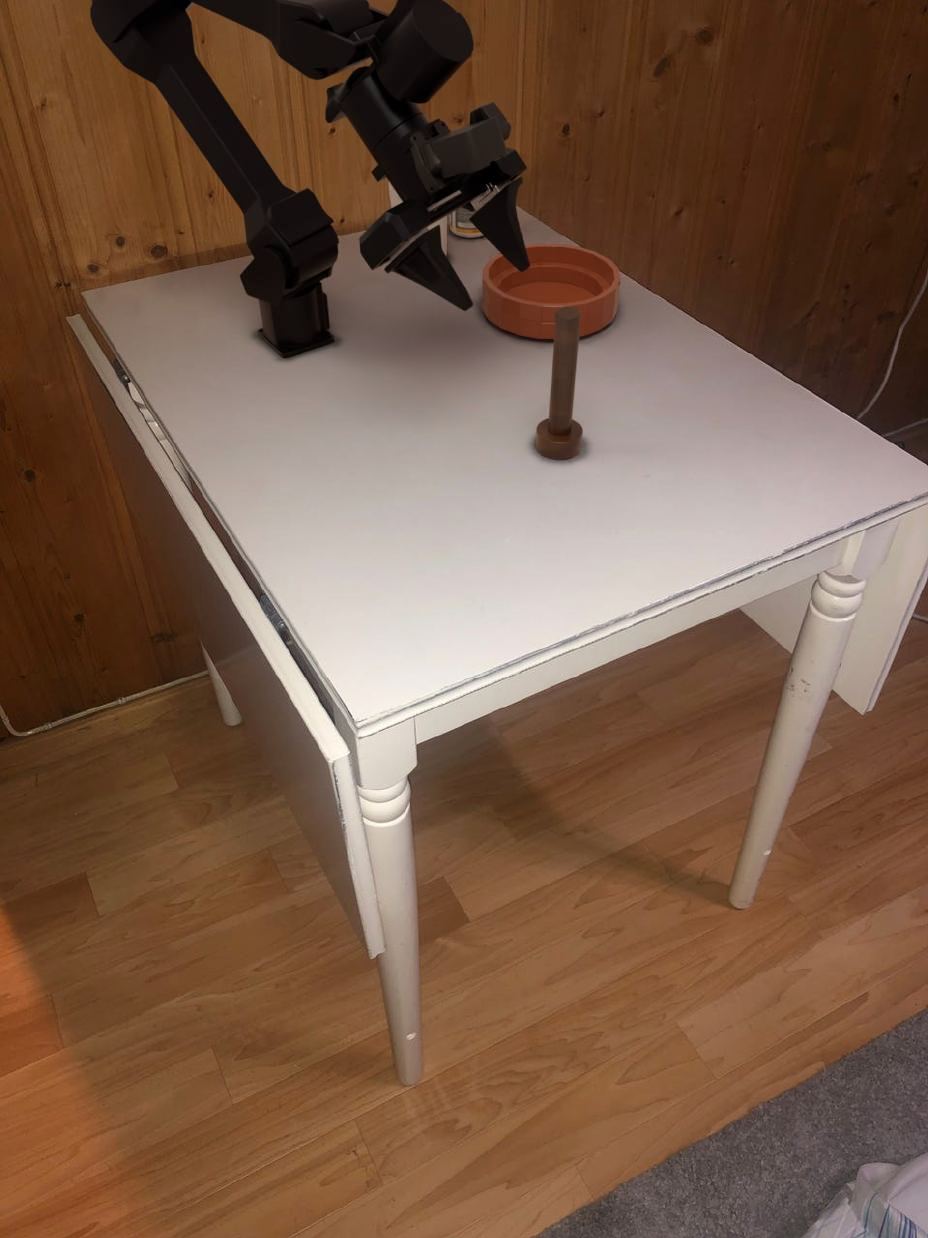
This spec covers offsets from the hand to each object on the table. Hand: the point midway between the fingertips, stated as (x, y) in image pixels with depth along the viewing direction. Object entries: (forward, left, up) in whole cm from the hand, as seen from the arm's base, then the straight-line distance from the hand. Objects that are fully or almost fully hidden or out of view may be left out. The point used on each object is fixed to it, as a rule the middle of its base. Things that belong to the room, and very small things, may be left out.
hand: (498, 288), depth 92 cm
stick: (+2, -8, -14) cm, 16 cm away
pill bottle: (+23, +37, -14) cm, 46 cm away
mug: (+13, +35, -14) cm, 40 cm away
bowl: (+18, +14, -14) cm, 26 cm away
